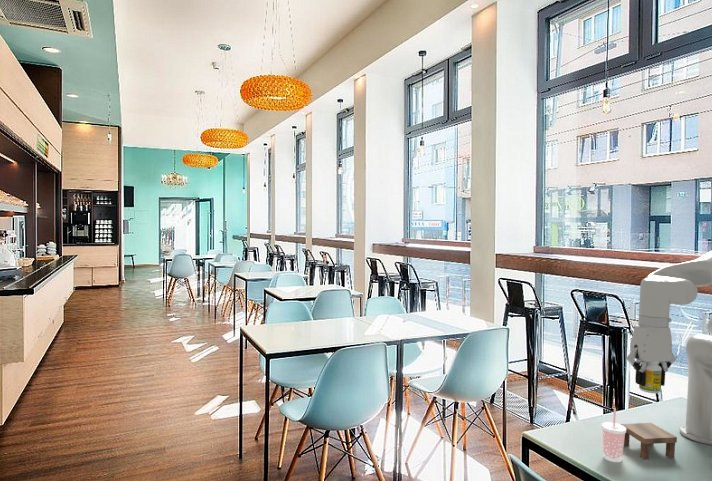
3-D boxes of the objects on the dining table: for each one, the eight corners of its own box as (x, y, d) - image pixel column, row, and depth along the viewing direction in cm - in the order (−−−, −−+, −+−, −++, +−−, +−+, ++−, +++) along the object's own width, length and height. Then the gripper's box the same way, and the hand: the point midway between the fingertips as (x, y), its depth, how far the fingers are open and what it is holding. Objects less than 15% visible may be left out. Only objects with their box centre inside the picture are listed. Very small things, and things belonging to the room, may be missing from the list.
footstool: (650, 442, 152) (651, 422, 152) (675, 458, 143) (676, 437, 142) (619, 443, 151) (620, 424, 151) (643, 459, 141) (644, 438, 141)
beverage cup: (605, 451, 146) (608, 403, 145) (628, 459, 141) (630, 409, 141) (596, 457, 142) (598, 408, 141) (619, 465, 137) (622, 414, 137)
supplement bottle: (644, 386, 149) (646, 354, 149) (664, 392, 145) (666, 358, 145) (635, 389, 146) (637, 356, 146) (654, 395, 142) (656, 361, 142)
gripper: (670, 319, 150) (666, 379, 151) (617, 319, 147) (614, 380, 148) (690, 324, 142) (686, 388, 143) (635, 324, 140) (631, 389, 141)
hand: (649, 383), depth 146 cm, fingers closed on supplement bottle, 5 cm apart
